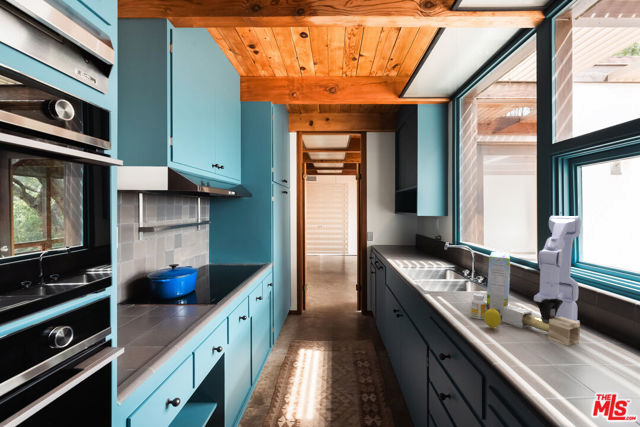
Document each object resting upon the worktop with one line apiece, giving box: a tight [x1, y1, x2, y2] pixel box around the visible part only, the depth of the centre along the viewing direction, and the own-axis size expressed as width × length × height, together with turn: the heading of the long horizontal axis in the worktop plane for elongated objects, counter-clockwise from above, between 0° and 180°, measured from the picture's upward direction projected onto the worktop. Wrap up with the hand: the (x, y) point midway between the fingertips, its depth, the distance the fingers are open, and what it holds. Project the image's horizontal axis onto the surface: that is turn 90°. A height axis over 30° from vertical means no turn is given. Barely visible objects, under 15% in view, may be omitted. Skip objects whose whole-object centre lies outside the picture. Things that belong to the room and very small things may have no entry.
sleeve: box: [501, 305, 533, 329], centre depth 126 cm, size 6×8×6 cm
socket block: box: [548, 317, 581, 346], centre depth 110 cm, size 7×6×7 cm
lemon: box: [483, 308, 502, 329], centre depth 120 cm, size 6×6×8 cm
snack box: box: [485, 251, 511, 317], centre depth 143 cm, size 22×9×26 cm, turn 148°
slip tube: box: [523, 308, 555, 333], centre depth 117 cm, size 4×16×9 cm, turn 25°
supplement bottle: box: [470, 293, 487, 320], centre depth 132 cm, size 5×5×10 cm
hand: (548, 318), depth 115 cm, fingers closed on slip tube, 3 cm apart
